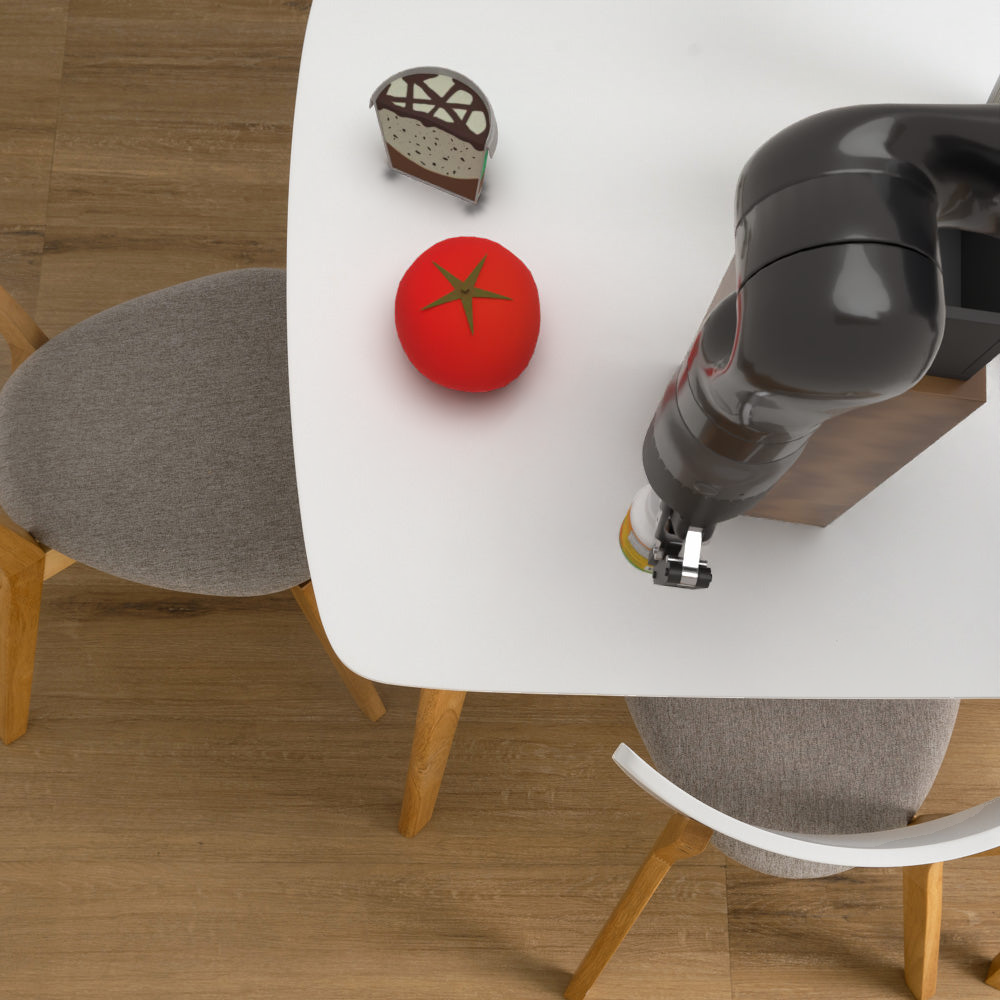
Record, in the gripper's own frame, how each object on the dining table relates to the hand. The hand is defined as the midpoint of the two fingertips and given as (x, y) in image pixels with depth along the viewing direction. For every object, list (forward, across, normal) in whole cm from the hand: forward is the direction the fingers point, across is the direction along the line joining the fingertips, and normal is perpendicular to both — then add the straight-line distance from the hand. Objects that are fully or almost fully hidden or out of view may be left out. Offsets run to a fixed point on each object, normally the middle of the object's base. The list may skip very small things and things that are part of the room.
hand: (667, 520), depth 67 cm
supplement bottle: (+6, 0, 0) cm, 6 cm away
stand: (+18, +14, -10) cm, 24 cm away
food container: (+17, +39, +22) cm, 48 cm away
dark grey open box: (-10, +14, -10) cm, 20 cm away
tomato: (+17, +20, +17) cm, 32 cm away
